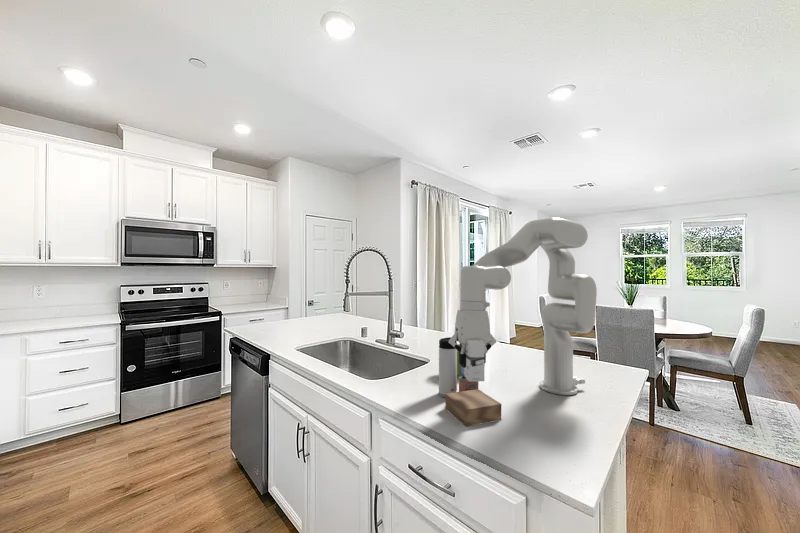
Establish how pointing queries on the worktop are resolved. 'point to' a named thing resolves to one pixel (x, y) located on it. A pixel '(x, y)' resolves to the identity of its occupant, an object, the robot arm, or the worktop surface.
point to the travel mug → (447, 367)
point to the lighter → (466, 384)
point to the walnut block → (473, 407)
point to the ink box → (474, 361)
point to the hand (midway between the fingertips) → (472, 365)
